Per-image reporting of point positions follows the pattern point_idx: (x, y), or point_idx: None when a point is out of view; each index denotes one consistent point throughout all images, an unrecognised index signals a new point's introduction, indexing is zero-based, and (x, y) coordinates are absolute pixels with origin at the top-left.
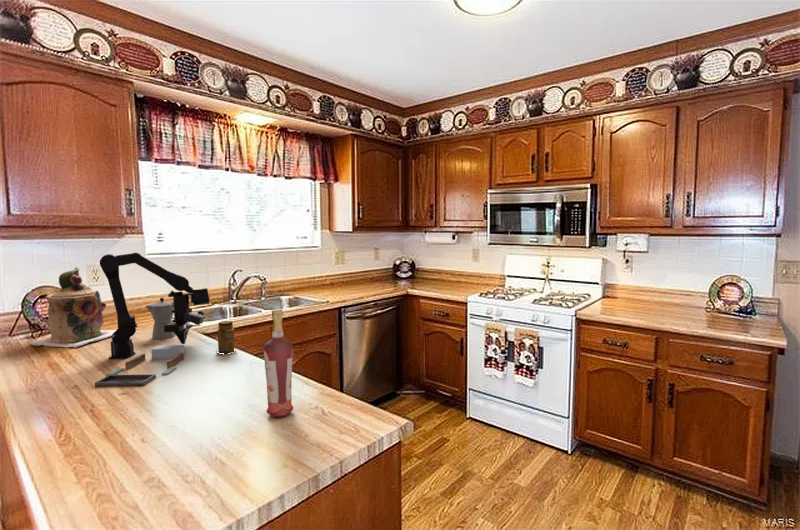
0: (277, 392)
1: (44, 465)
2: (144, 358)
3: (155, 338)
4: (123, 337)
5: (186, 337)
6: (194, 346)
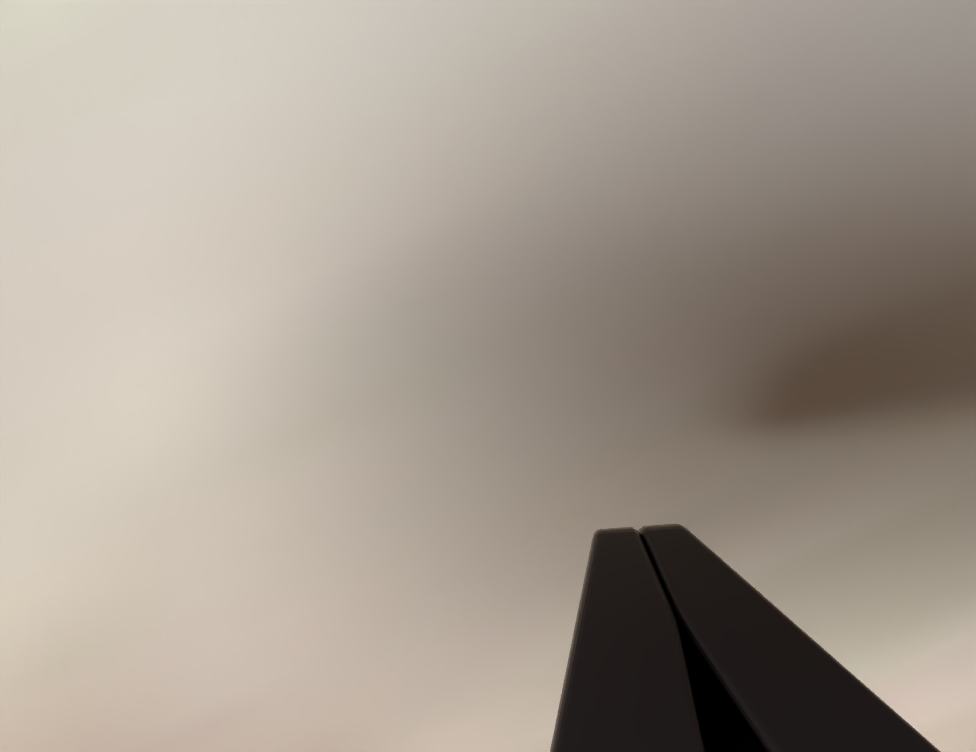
0: None
1: None
2: None
3: None
4: None
5: (597, 711)
6: (447, 131)
